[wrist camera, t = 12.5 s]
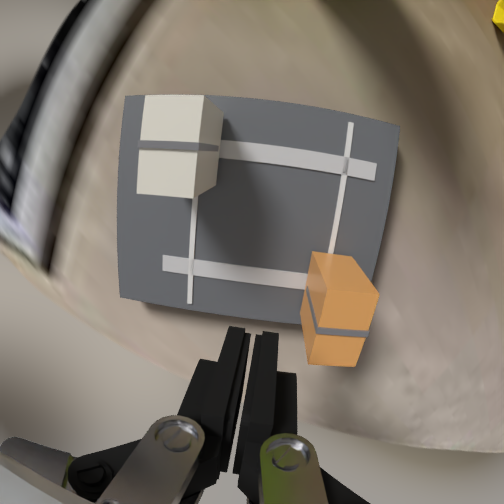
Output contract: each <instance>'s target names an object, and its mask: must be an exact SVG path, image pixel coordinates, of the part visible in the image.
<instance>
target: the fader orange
mask: <svg viewBox="0 0 504 504" xmlns="http://www.w3.org/2000/svg"><path fill="white" fill-rule="evenodd" d="M379 295H380V294H379V293H378V292H377V290H376V289H375V287H374V286H373V284H372V283H371V282H370V280H369V279H368V278H367V276H366V275H365V273H364V272H363V271H362V269H361V268H360V267H359V265H358V264H357V263H356V261H355V260H354V259H353V257H352V256H345V255H337V254H330V253H322V252H315V251H312V255H311V260H310V265H309V271H308V276H307V281H306V286H305V291H304V296H303V300H302V305H301V310H300V317H301V323H302V329H303V335H304V341H305V348H306V354H307V361H308V364H311V365H327V366H347V367H355V366H356V363H357V360H358V358H359V355H360V352H361V350H362V347H363V344H364V341H365V338H366V337H368V335H369V327H370V324H371V321H372V317H373V314H374V311H375V308H376V305H377V302H378V298H379Z"/></svg>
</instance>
